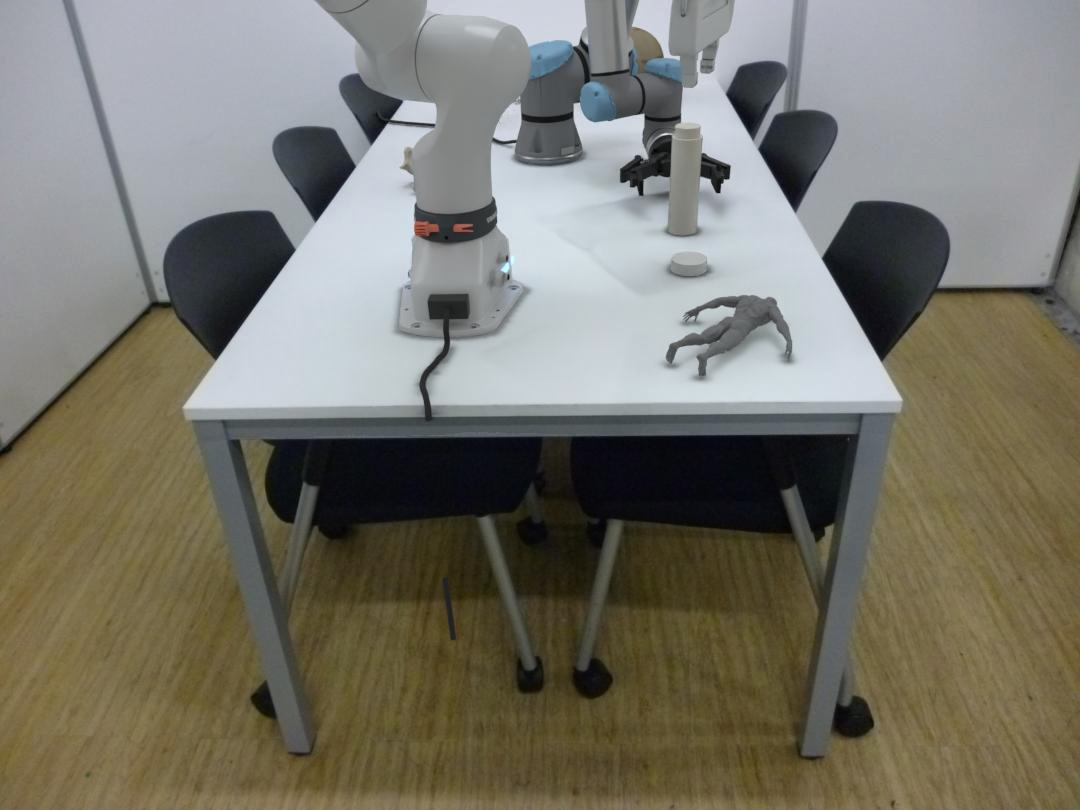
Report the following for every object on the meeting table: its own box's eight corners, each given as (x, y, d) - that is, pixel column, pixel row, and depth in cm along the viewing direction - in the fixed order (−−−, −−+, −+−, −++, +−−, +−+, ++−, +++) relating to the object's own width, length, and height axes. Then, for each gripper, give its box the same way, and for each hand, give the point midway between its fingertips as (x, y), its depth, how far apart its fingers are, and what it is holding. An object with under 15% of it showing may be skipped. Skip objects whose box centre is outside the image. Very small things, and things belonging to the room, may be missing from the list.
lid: (664, 272, 132) (665, 260, 131) (680, 260, 136) (681, 248, 135) (697, 279, 129) (697, 267, 128) (712, 266, 133) (713, 255, 132)
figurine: (740, 398, 101) (827, 332, 111) (741, 369, 98) (830, 304, 109) (633, 353, 111) (722, 297, 122) (633, 326, 108) (724, 270, 119)
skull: (629, 73, 244) (653, 2, 221) (655, 132, 236) (683, 64, 214) (578, 80, 240) (598, 7, 217) (603, 139, 232) (626, 71, 210)
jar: (686, 223, 149) (692, 120, 140) (702, 232, 145) (709, 126, 136) (662, 228, 148) (666, 124, 138) (677, 237, 144) (683, 131, 134)
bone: (420, 170, 164) (410, 138, 170) (401, 193, 168) (392, 160, 173) (460, 189, 171) (449, 158, 177) (441, 211, 175) (432, 179, 180)
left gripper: (709, -24, 99) (702, 97, 107) (745, -41, 115) (737, 66, 122) (658, -24, 102) (654, 94, 109) (700, -40, 117) (695, 64, 125)
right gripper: (729, 170, 167) (749, 205, 149) (603, 174, 167) (609, 210, 150) (732, 131, 163) (753, 163, 145) (604, 136, 163) (609, 168, 146)
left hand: (698, 79), depth 116 cm, fingers open, 8 cm apart
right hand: (680, 187), depth 147 cm, fingers open, 13 cm apart
